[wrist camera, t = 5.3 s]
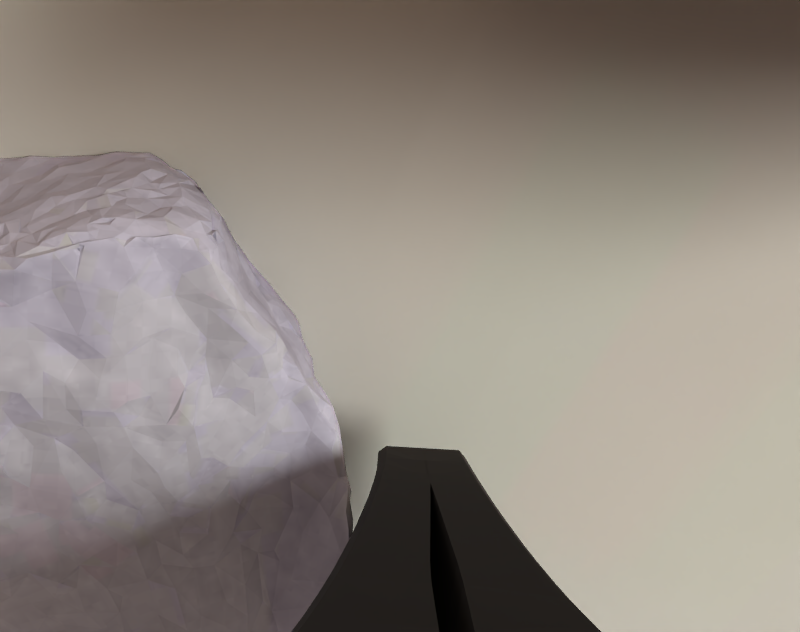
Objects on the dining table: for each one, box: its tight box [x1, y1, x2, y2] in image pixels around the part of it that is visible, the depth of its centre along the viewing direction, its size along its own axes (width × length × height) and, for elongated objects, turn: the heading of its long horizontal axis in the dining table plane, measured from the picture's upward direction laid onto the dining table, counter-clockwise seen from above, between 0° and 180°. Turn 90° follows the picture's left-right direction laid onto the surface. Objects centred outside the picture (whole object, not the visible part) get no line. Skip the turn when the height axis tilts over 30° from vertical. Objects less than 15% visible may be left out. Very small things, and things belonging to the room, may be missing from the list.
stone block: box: [0, 152, 353, 632], centre depth 12 cm, size 12×5×10 cm
